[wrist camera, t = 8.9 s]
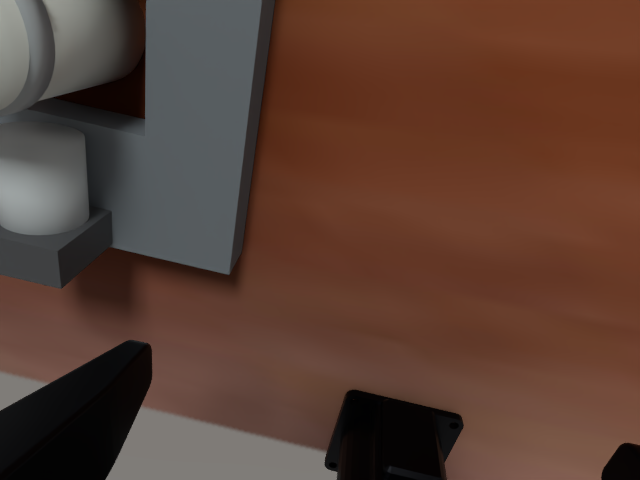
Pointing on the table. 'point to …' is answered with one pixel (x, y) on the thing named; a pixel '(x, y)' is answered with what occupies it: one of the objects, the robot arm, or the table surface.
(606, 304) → the table surface
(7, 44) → the coupler
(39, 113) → the shaft mount
